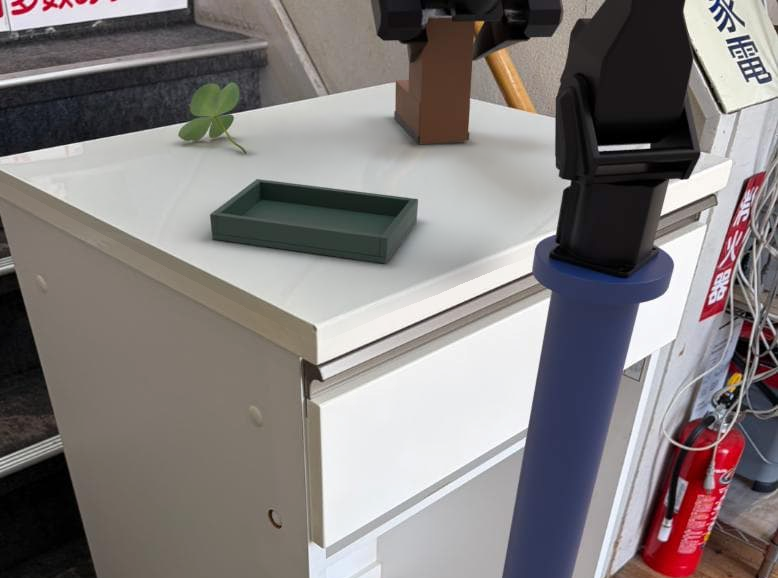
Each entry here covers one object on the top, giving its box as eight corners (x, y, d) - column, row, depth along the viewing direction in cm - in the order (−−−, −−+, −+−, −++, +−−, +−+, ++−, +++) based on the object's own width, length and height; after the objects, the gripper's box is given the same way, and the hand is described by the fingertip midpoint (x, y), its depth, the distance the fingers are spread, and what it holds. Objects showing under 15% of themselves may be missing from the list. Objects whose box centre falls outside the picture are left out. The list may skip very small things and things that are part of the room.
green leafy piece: (227, 196, 90) (193, 151, 91) (283, 145, 89) (248, 100, 89) (199, 169, 83) (163, 120, 84) (260, 113, 82) (222, 64, 82)
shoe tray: (416, 222, 72) (418, 198, 70) (386, 264, 64) (387, 238, 63) (258, 202, 75) (256, 178, 73) (212, 239, 67) (209, 214, 66)
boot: (469, 140, 91) (478, -13, 82) (417, 144, 90) (421, -10, 81) (441, 115, 99) (447, -26, 90) (394, 118, 98) (395, -24, 89)
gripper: (573, -141, 76) (509, -15, 91) (376, -147, 72) (344, -14, 87) (595, -25, 75) (527, 82, 91) (398, -24, 71) (362, 88, 86)
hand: (442, 57), depth 89 cm, fingers closed on boot, 7 cm apart
